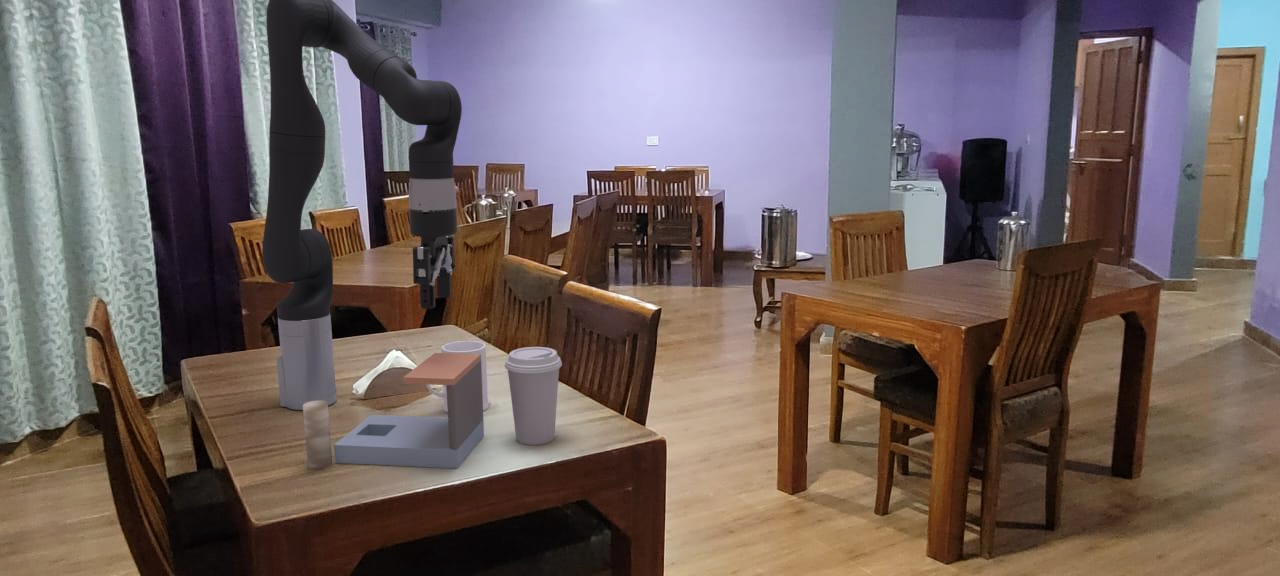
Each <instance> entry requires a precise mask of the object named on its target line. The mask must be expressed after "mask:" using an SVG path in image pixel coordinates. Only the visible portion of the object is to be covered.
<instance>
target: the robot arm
mask: <svg viewBox="0 0 1280 576" xmlns="http://www.w3.org/2000/svg"><path fill="white" fill-rule="evenodd" d="M265 22H266V23H265V24H266V37H267V48H268V51H267V52H268V61H269V73H270V75H269V76H270V77H269V78H270V80H269V81H270V84H269V85H270V112H269V114H270V116H269V118H270V119H269V136H268V137H269V138H268V142H269V143H268V146H269V147H268V153H269V155H268V156H269V157H268V158H269V161H268V162H269V163H268V164H269V165H268V166H269V170H268V171H269V172H268V191H267V194H268V195H267V205H266V206H267V207H266V213H265V214H266V215H265V224H264V229H263V230H264V231H263V237H262V248H261V254H262V263H263V267H264V270H265V272H266V273H267V275H268V276H269V278H270V279H271V280H272V281H273V282H276V283H278V284H289V283H290V284H292V283H293V285H292V286H291V288H290V290H289V291H288V293H287V294H286V295H285V296H284V297H282V298H281V299H280V300H279V301H278V302H277V305H276V311H277V312H276V313H277V324H278V325H277V326H278V336H279V337H278V338H279V347H280V348H279V349H280V355H279V356H277V358H276V370H277V379H278V380H277V381H278V391H279V403H280V407H285V408H288V409H291V410H294V411H295V410H296V411H303V404H305V403H307V402H311V401H319V400H321V401H326V402H328V407H329V406H331V405H333V404H334V403H336V402H337V400H338V399H337V386H336V373H335V372H336V371H335V370H336V369H335V358H334V357H335V356H334V345H333V344H334V343H333V333H332V332H333V331H332V330H333V329H332V320H331V319H332V318H331V304H332V301H333V296H334V266H333V254H332V252H333V251H332V249H331V248H332V247H331V245H330V242H329V241H328V239H327V236H325V234H324V233H322V231H320V230H317V229H314V228H302V216H303V210H304V207H305V204H306V201H307V199H308V197H309V194H310V192H311V191H312V189H313V187H314V185H315V184H316V183H317V180H318V178H319V176H320V174H321V171H322V168H323V166H324V163H325V154H326V125H325V124H326V123H325V120H324V118H323V114H322V112H321V111H320V108H319V106H318V104H317V102H316V100H315V98H314V96H313V95H312V93H311V91H310V90H311V89H310V88H309V86H308V84H307V81H306V78H305V74H304V67H303V66H304V65H303V64H304V63H303V47H305V48H316V49H317V48H323V49H326V50H329V51H332V52H334V53H336V54H338V55H340V56H342V57H343V58H344V59H345V60H347V61H346V62H347V65H348V66H349V67H348V68H349V69H350V71H351V72H352V73H353V75H354V77H355V78H356V79H358V80H359V81H360V82H361V83H362V84H363V85H364V86H366V87H367V88H369V89H371V90H372V91H373V92H374V93H376V94H377V95H379V96H380V97H382V98H383V99H384V101H385V102H386V104H387V105H388V106H389V108H390V109H391V110H392V112H393V113H394V114H395V115H396V116H397V117H399V119H401V120H402V121H404V122H406V123H408V124H410V125H414V126H426V129H425V133H424V137H423V138H421V139H420V140H417V141H414V142H412V143H411V144H410V145H409V147H408V173H409V183H408V184H409V185H408V211H409V232H410V234H411V235H412V236H414V237H419V238H420V246H413V247H412V259H413V260H412V267H413V268H412V276H413V277H412V279H413V280H412V281H413V284H414V285H417V286H419V296H420V307H421V309H425V310H432V309H434V308H435V307H436V292H437V297H438V298H442V299H443V298H444V299H445V298H447V299H448V298H450V297H451V296H452V282H451V281H452V277H451V276H452V275H453V270H454V271H455V269H456V255H455V253H456V252H455V238H454V235H456V234H457V233H458V222H457V221H458V220H457V219H458V218H457V217H458V212H457V191H456V185H455V178H454V177H455V176H454V175H455V173H454V171H455V169H454V168H455V167H454V151H455V150H454V149H455V147H456V142H457V138H458V134H459V129H460V125H461V120H462V119H461V118H462V114H463V113H462V111H463V110H462V109H463V108H462V99H461V97H460V94H459V92H458V90H457V89H456V87H455V86H454V85H453V84H451V83H450V82H447V81H444V80H428V79H426V80H425V79H419V78H418V75H417V73H416V70H415V68H414V67H413V66H412V65H411V64H410V63H409V62H408V61H406V60H405V59H404V58H402V57H401V56H399V55H398V54H396V53H395V52H393V51H392V50H390V49H388V48H387V47H385V46H384V45H382V44H381V43H380V42H378V41H377V40H375V38H372V36H370V35H369V33H367V32H366V31H364V29H362V28H361V27H360V26H359V25H358V24H357V23H356V22H355V21H354V20H353V19H352V18H351V17H350V16H349V15H348V14H347V13H346V12H345V11H344V10H343V8H341V7H340V6H339V5H338V3H336V2H335V1H333V0H268V3H267V7H266V21H265ZM301 228H302V229H301ZM435 282H436V287H437V288H436V287H435ZM435 288H436V290H437V291H435Z"/></svg>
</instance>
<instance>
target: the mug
mask: <svg viewBox="0 0 1280 576" xmlns="http://www.w3.org/2000/svg"><path fill="white" fill-rule="evenodd" d="M441 353H457V354H481V370H482V395H483V412H484V411H486V410H488V408H489V407H490V402H489V397H488V374H487V349H486V344H485V343H484V342H483V341H478V340H477V341H476V340H459V341H452V342H448V343H446V344H443V345H442V346H441ZM425 386H426V388H427V390H429V392H430V393H431V394H432V395H433V396H436V397H438V398H441V399H442V398H443V406H442V409H443V411H444V412H446V413H447V414H448V409H447V388H446V385H442V387H443V391H437V390H435V389H434V388H432V387H431V385H429V384H425Z"/></svg>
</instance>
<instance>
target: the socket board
mask: <svg viewBox="0 0 1280 576" xmlns="http://www.w3.org/2000/svg"><path fill="white" fill-rule="evenodd" d="M402 383H403V385H404V384H405V385H407V384H408V385H426V384H429V385H430V386H431V385H434V386H436V385H437V386H443V385H446V388H447V409H448V413H447V417H440V416H439V417H438V416H419V415H418V416H415V415H414V416H411V415H391V414H390V415H388V414H387V415H386V414H371V415H369V416H367V418H366V419H364V420H363V421H362V422H360V423H359V424H358V425H356V426H355V427H354V428H353V429H352V430H350V431H349V432H348V433H347V434H346V435H344V436H343V437H342V438H340V439H339V440H337V442H335V444H333V451H334V453H333V454H334V463H335V464H353V465H354V464H356V465H373V466H374V465H377V466H378V465H379V466H395V467H396V466H397V467H419V468H420V467H421V468H440V469H441V468H442V469H459V468H460V467H461V465H462V464H463V463H464V461H465V460H466V459H467V457H469V455H470V454H471V453H472V451H473V450H474V449H476V446H478V444H479V442H481V440H482V439H483V438H484V437H485V427H484V426H485V423H484V411H483V395H482V370H481V354H457V353H442V352H434V353H432V355H430V356H428V358H426V359H425V360H424V361H422V362H421V363H419V365H417V366H416V367H415V368H413V369H412V370H410V372H408V373H407V374H405V375H404V376H403V377H402Z"/></svg>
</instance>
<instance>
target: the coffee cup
mask: <svg viewBox="0 0 1280 576" xmlns="http://www.w3.org/2000/svg"><path fill="white" fill-rule="evenodd" d="M562 366H563V362H562V360H561V357H560V356H559V355H558V351H557V350H556V349H553V348H550V347H543V346H529V347H519V348H517V349H514V350H511V351H510V352H509V354H508V357H507V359H506V360H505V363H504V369H506V370H507V375H508V383H509V391H510V392H509V393H510V398H511V400H510V401H511V407H512V408H511V409H512V415H513V423H514V424H513V425H514V431H515V439H516V441H517V442H518V443H520V444H522V445H529V446H538V445H545V444H548V443H550V442H552V441H553V440H554V439H555V436H556V435H555V433H556V419H557V406H558V405H557V404H558V403H557V402H558V392H559V391H558V389H559V376H560V375H559V374H560V368H561V367H562Z"/></svg>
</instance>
